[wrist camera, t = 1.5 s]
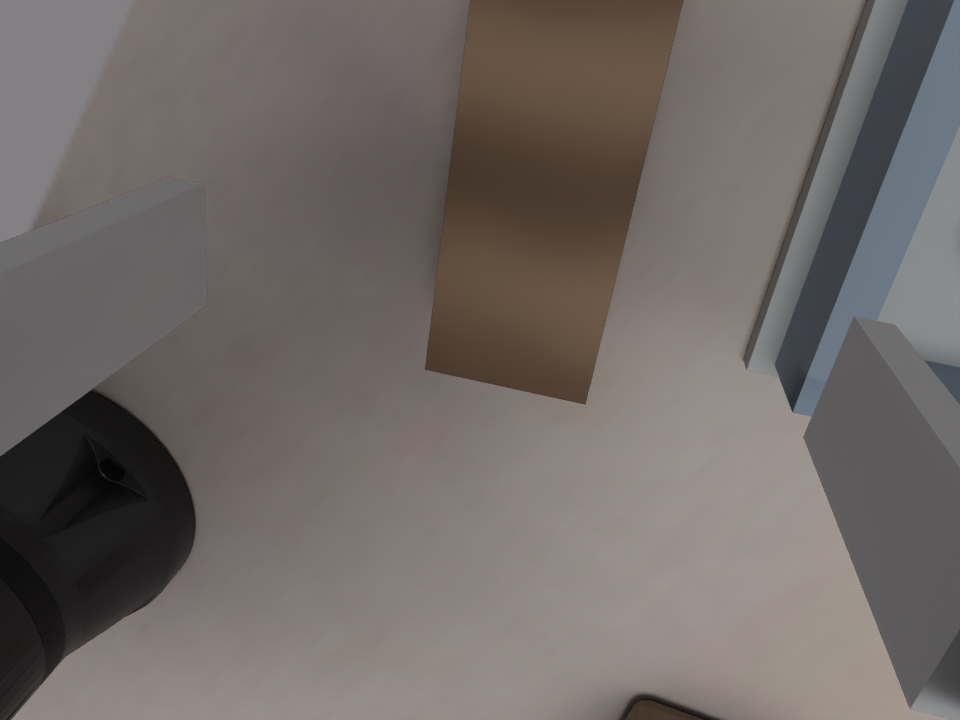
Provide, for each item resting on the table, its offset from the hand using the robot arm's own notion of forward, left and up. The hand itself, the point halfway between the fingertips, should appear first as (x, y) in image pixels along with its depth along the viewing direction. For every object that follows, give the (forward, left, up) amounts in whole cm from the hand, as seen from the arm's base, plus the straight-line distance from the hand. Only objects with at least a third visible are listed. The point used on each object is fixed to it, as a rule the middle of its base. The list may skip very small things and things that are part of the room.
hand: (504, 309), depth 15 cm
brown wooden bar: (0, 0, -17) cm, 17 cm away
